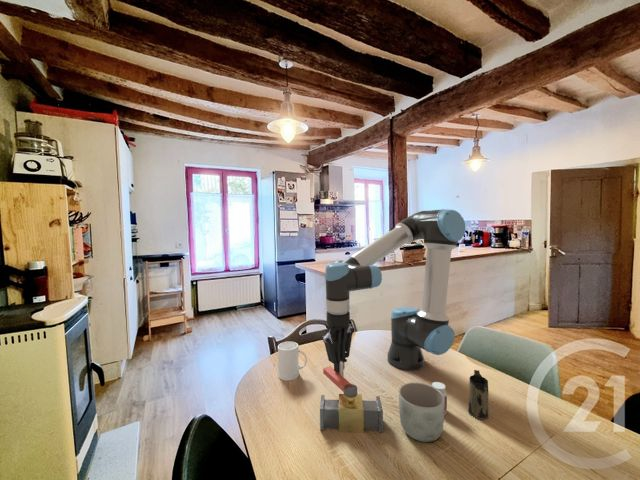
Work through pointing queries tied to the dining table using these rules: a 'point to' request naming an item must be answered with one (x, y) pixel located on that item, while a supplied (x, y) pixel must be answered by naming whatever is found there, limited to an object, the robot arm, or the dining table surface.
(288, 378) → the mug
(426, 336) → the robot arm
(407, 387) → the planter
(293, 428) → the dining table surface
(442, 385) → the pill bottle
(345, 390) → the lever
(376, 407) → the valve
